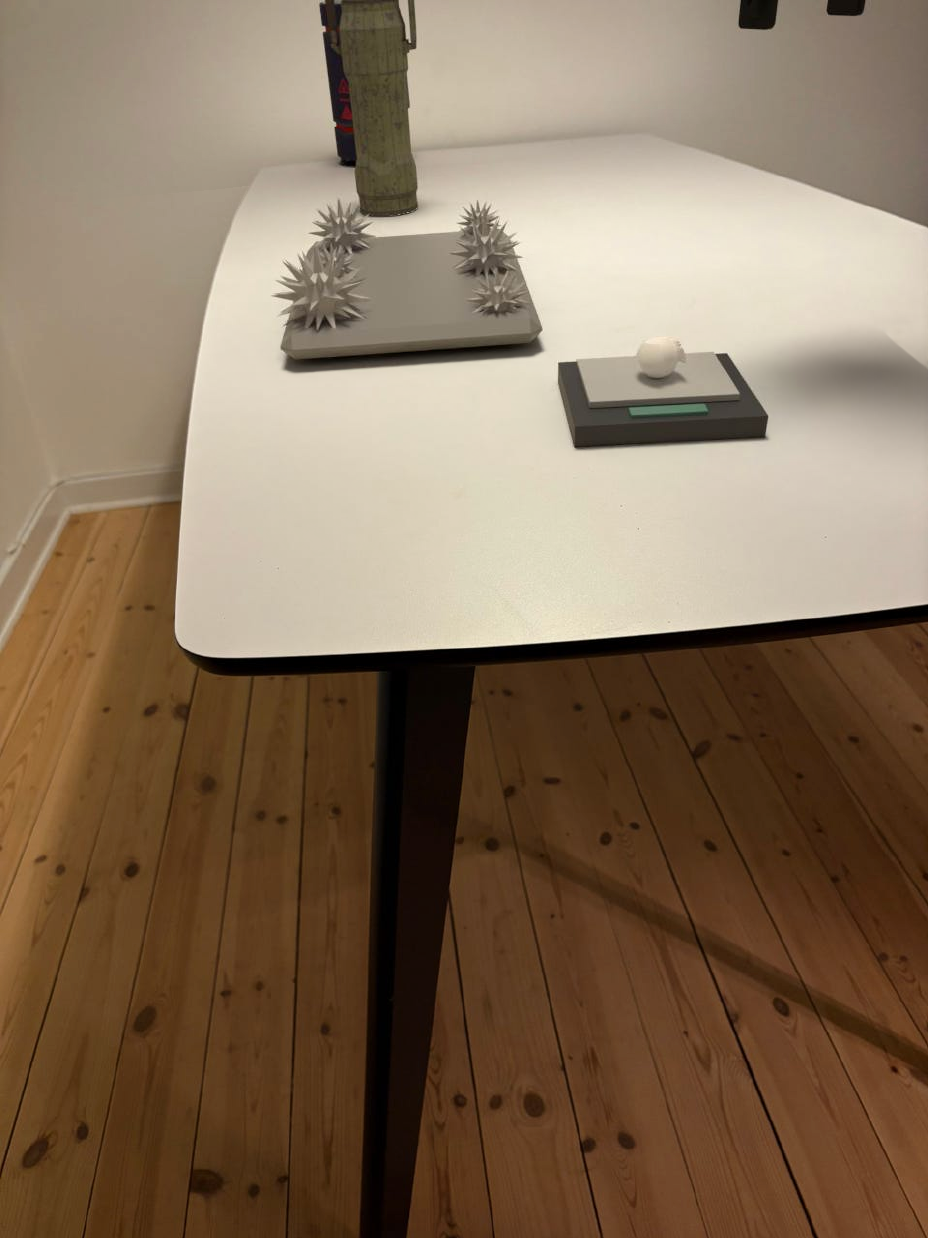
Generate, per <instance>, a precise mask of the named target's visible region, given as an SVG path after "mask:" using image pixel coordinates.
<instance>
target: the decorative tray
mask: <svg viewBox="0 0 928 1238" xmlns="http://www.w3.org/2000/svg"><path fill="white" fill-rule="evenodd" d="M353 202H354V200H351V202H350V203H349V205H348V207H347V209H346V211H345V212H344V210H343V207H342V203H341V200H340V198H338V199H337V212H336V211H335V210H334V207H332V205H331V203H330V202H328V203H326V206H327V209H328V212H327V214H328V215H327V214H326V213H324V212H323V211H322V210H320V209H319V208H316V211H317V212H318V213H319V215H320V217H322V219H323V220H324V222H321V221H318V220H314V221H311V223H313V224H314V225H316V226H317V227H319V228H320V229H322V230H319V231H309V232H308V234H309V235H314V236H318V237H322V240H319V241H318V240H317V241H315V242H314V243H313V245H312V246H310V248H309V249H308V250H307V251H306V254H305V253H304V251H303V250H301V254H302V256H301V255H300V254H298V253H296V254H297V257H298V261H299V263H300V265H301V268H300V267H299V268H298V267H296V266H295V265H294V264H293V263H291V262H289V261H288V260H287V259H285V262H284V261H282V263H283V264H284V265H285V267H286V268H287V269H288V271H289V272H290V273H291V274H292V276H293V277H294V278H295V279H293V278H290V277H286V276H282V275H280V277H281V278H282V279H283V280H280V279H275V281H276V282H277V283H279V284H281V285H283V286H285V287H287V288H288V289H290V290H292V291H285V292H274V293H273V294H274V295H273V294H272V295H271V297H273V298H278V299H283V300H286V301H287V300H288V301H292V304H290V306H288V307H286V308H285V309H284V310H282V311H280V313H279V314H278V315H276V316H275V318H276V317H281V316H284V315H287V314H288V318H287V320H286V321H285V323H284V324H283V327H285V329H284V333H283V337H282V339H281V342H280V347H279V348H280V350H281V351H283V352H284V353H285V354H287V355H288V356H290V357H291V358H293V359H294V360H308V359H321V358H334V357H335V358H336V357H349V356H351V357H352V356H364V355H376V354H378V355H379V354H391V353H393V354H394V353H403V352H404V353H405V352H419V351H433V350H446V349H461V348H462V349H463V348H476V347H488V346H503V345H515V344H516V345H517V344H518V345H519V344H530V343H531V342H532V341H533V340H534V339H536V338H537V336H539V335H540V333H542V332H543V326H542V325H543V324H542V322H541V320H540V317H539V315H538V312H537V309H536V305H535V303H534V301H533V298H532V296H531V293H530V290H529V287H528V284H527V280H526V279H525V277H524V273H523V271H522V268H521V265H520V262H519V259H524V257H523V256H522V255H518V254H516V252H515V249H514V247H516V246H517V245H519V244H520V243H522V242H519V240H516V241H514V240H511V239H512V238H513V237H514V236H515V235H517V232H514V233H512V234H510V235H507V234H506V233H505V232H504V230H505V227H506V225H507V223H508V219H507V220H506V222H505V223H504V224H503V226H502V225H501V224H499V223H500V219H499V218H500V215H497V216H496V215H495V214H496V213H497V212H498V211H499V209H497V210H495V211H493V212H491V213H489V211H490V209H491V207H492V202H491V203H490V205H488V207H487V204H488V202H487V201H485V202H484V203H483V206H482V207H481V208H480V204H479V200H476V207H475V208H476V209H475V208H474V206H473V204H472V203H469V206H470V211H469V210H468V209H466V208H465V207H464V206H462V208H463V210H464V211H465V213H466V215H461V214H459V217H461V218H462V219H463V220H465V221H458V222H456V224H458V225H462V226H465V227H464V228H462V227H460V226H459V228H460V230H459V231H449V232H447V231H446V232H433V233H431V232H430V233H418V234H417V233H416V234H404V235H403V234H402V235H390V236H376V235H373V234H371V233H365V232H363V230H364V229H365V228H367V227H369V226H370V225H371V224H373V223H374V222H373V221H371V222H367V223H364V222H365V221H366V219H367V218H368V217H370V216H369V215H370V214H371V213H370V214H368V215H364V216H362V217H360V218H358V219H356V218H357V214H358V212H359V210H360V203H359V204H358V206H357V207H356V208H355V209H354V210H352V208H353ZM493 221H494V223H493ZM363 223H364V224H363ZM499 227H501V228H499ZM302 257H303V258H302Z"/></svg>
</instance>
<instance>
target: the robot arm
mask: <svg viewBox="0 0 928 1238" xmlns="http://www.w3.org/2000/svg"><path fill="white" fill-rule="evenodd" d="M739 1H740V3H739V13H738V22H737V23H738V27H739V29H742V30H760V31H768V30H772V29H773V28H774V27H775V26H776V22H777V14H778V6H779V0H739ZM866 1H867V0H827V3H826V5H827V6H826V13H827V15H828V16H839V17H859V16H862V15H863V13H864V11H865V8H866Z"/></svg>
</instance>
